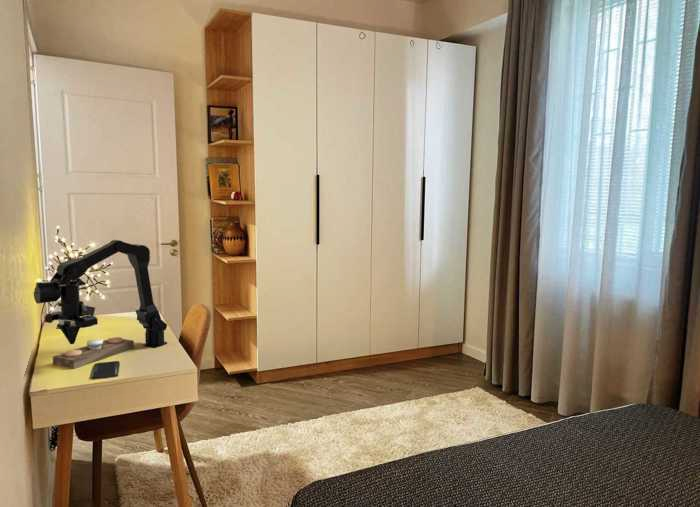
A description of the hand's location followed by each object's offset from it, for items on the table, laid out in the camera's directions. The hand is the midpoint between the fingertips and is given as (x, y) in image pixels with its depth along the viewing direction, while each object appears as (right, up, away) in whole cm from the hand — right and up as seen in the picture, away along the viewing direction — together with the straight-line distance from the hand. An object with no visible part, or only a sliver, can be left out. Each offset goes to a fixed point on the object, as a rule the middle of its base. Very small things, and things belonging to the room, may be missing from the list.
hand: (72, 343), depth 180 cm
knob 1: (0, -7, +1) cm, 7 cm away
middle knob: (+4, -4, +9) cm, 11 cm away
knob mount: (+4, -6, +9) cm, 12 cm away
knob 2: (+7, -5, +17) cm, 19 cm away
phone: (+14, -8, -6) cm, 18 cm away
